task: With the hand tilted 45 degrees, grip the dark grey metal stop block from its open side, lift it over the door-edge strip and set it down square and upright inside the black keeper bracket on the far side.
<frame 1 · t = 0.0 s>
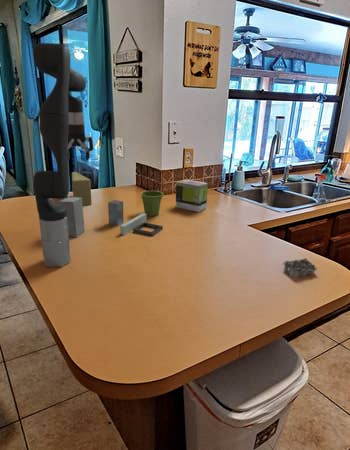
hand: (77, 159, 155), 29 cm above the worktop, tool pointing down, fingers open, 8 cm apart
plant pot: (151, 214, 177), on the worktop
cheese: (79, 200, 195), on the worktop
skincare box: (73, 233, 149), on the worktop
door edge: (134, 227, 158), on the worktop
egg carton: (298, 272, 123), on the worktop
keeper: (148, 230, 155), on the worktop
tea box: (190, 208, 190), on the worktop
stop block: (116, 223, 161), on the worktop
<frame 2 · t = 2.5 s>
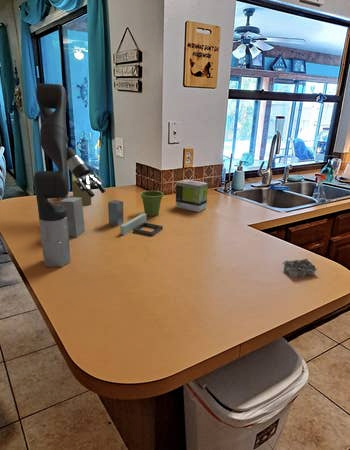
hand: (98, 194, 160), 13 cm above the worktop, tool tilted 45°, fingers open, 8 cm apart
nothing on the worktop moved.
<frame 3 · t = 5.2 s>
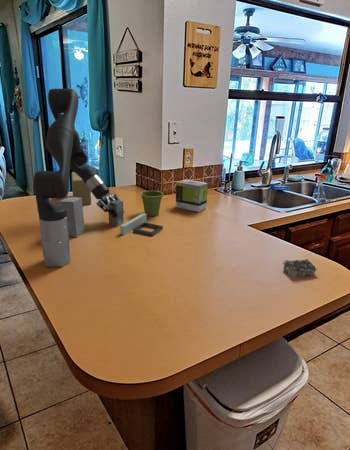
hand: (119, 215, 159), 5 cm above the worktop, tool tilted 45°, fingers closed on stop block, 5 cm apart
stop block: (116, 223, 161), on the worktop, touching gripper
everything else where it was.
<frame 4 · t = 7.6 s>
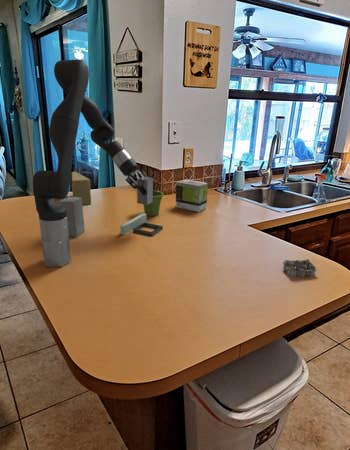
hand: (148, 192, 149), 18 cm above the worktop, tool tilted 45°, fingers closed on stop block, 5 cm apart
stop block: (144, 202, 151), point 13 cm above the worktop, touching gripper
everything else where it was.
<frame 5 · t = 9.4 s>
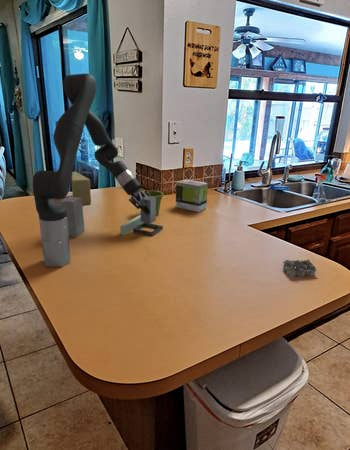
hand: (151, 212, 151), 9 cm above the worktop, tool tilted 45°, fingers closed on stop block, 5 cm apart
stop block: (148, 221, 153), point 5 cm above the worktop, touching gripper
everything else where it was.
when the fingers open (6 cm above the worktop, at t = 10.5 s): stop block drops 2 cm, resting in keeper.
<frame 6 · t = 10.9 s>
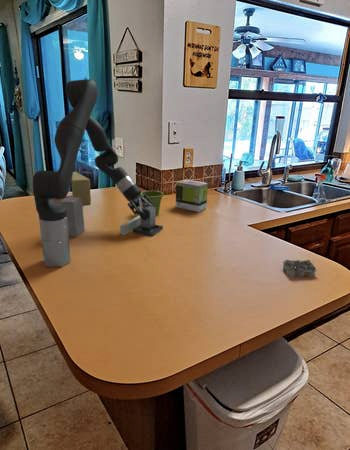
hand: (150, 216, 152), 7 cm above the worktop, tool tilted 45°, fingers open, 8 cm apart
stop block: (147, 230, 155), resting in keeper
everything else where it was.
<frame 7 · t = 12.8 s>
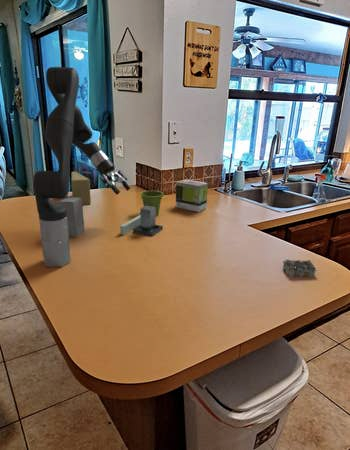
hand: (123, 191, 153), 17 cm above the worktop, tool tilted 45°, fingers open, 8 cm apart
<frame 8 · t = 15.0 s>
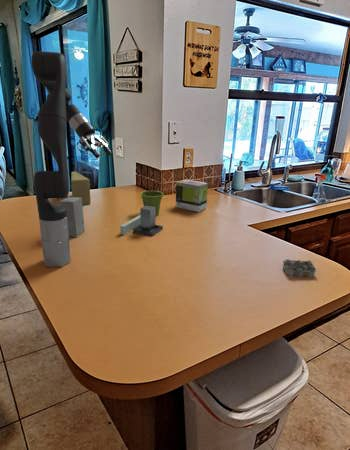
hand: (104, 155, 147), 33 cm above the worktop, tool tilted 45°, fingers open, 8 cm apart
at the end: stop block 0.1 cm from the keeper (horizontally); stop block tilted 0°; stop block resting in keeper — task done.
